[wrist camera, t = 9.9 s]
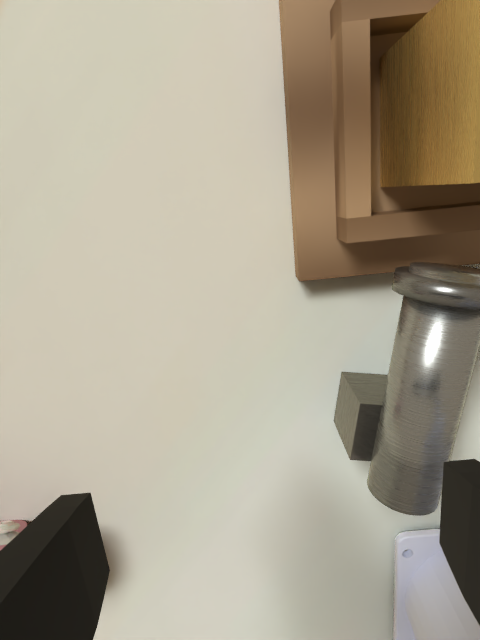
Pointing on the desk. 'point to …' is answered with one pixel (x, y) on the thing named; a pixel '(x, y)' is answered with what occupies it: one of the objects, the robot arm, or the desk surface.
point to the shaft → (415, 388)
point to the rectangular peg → (432, 100)
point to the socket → (358, 149)
